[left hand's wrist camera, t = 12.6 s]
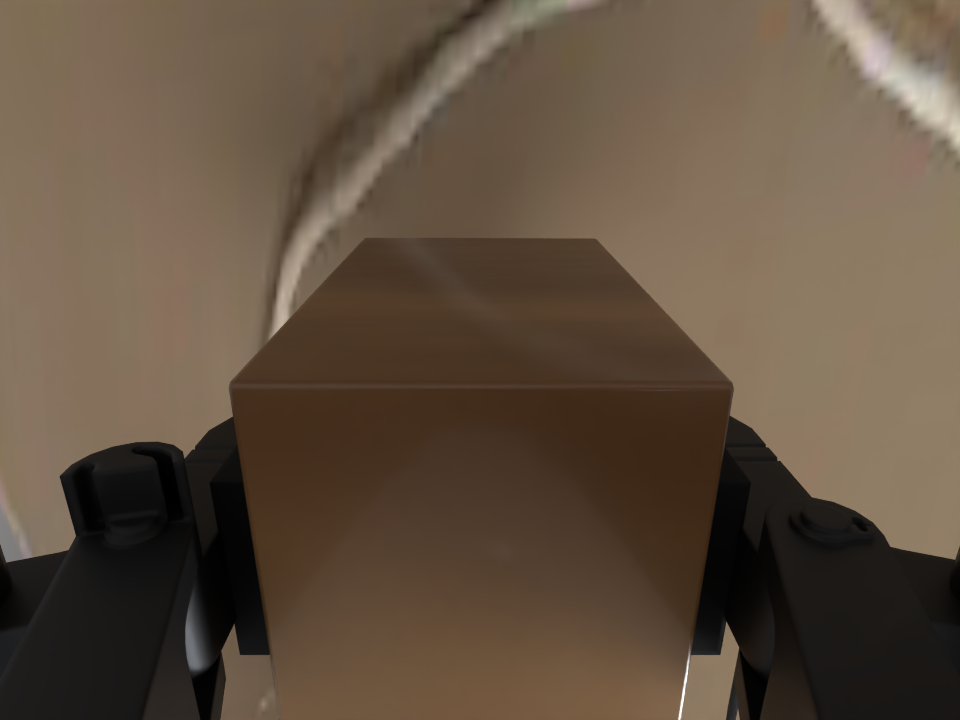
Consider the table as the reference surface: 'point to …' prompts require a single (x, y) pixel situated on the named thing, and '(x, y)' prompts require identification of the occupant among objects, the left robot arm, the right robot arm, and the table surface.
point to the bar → (480, 486)
